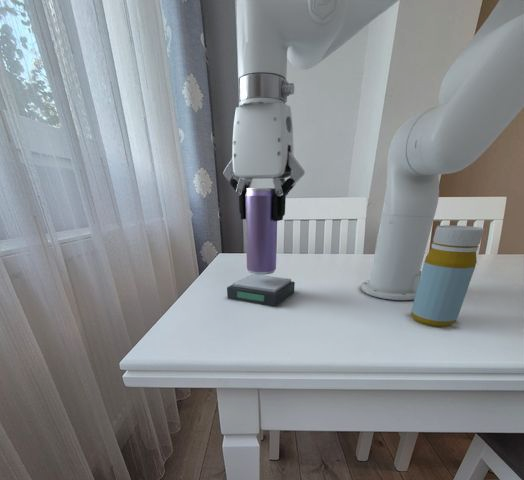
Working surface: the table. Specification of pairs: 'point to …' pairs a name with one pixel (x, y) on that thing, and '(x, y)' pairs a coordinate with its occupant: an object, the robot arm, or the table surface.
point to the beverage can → (260, 231)
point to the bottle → (446, 275)
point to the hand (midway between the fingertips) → (261, 218)
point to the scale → (261, 290)
